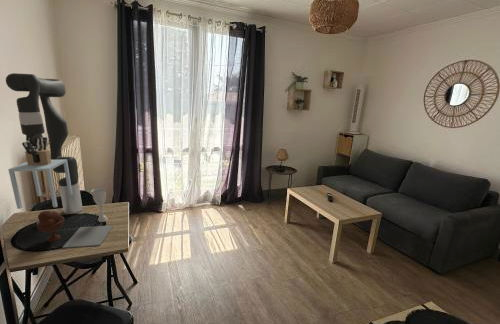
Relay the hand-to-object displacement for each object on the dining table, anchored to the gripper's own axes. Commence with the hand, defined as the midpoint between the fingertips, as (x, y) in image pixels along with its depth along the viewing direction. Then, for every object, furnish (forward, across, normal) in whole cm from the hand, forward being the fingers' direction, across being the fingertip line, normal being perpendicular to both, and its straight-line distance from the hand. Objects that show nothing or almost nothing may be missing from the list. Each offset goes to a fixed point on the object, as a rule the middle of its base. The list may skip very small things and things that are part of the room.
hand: (39, 161), depth 113 cm
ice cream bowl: (+39, 0, 0) cm, 39 cm away
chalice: (+39, -17, +16) cm, 46 cm away
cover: (+19, 0, 0) cm, 19 cm away
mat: (+39, 0, +16) cm, 42 cm away
